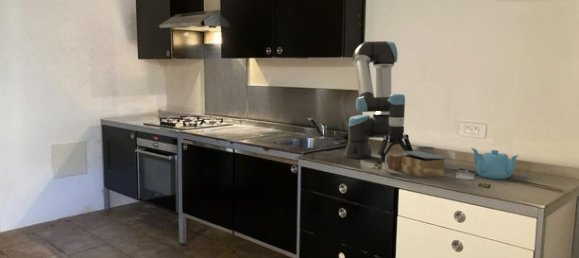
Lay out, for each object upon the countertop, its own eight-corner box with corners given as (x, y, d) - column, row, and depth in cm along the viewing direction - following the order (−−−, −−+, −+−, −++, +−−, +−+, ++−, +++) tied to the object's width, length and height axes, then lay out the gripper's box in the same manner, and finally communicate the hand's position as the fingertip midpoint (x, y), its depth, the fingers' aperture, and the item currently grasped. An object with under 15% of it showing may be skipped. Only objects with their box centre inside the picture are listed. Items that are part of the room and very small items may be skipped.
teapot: (477, 179, 222) (478, 153, 221) (469, 170, 240) (471, 146, 239) (517, 181, 219) (519, 154, 218) (506, 172, 237) (508, 147, 236)
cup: (421, 165, 254) (422, 146, 253) (436, 167, 249) (437, 147, 248) (414, 167, 248) (414, 148, 246) (429, 170, 242) (430, 150, 241)
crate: (401, 171, 239) (401, 155, 238) (420, 169, 244) (420, 153, 243) (424, 178, 224) (424, 161, 223) (443, 175, 230) (444, 159, 229)
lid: (401, 152, 237) (401, 150, 237) (420, 153, 243) (420, 151, 243) (424, 158, 223) (425, 156, 223) (445, 158, 228) (445, 157, 228)
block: (387, 168, 245) (388, 155, 244) (395, 167, 248) (396, 154, 247) (394, 170, 241) (394, 156, 240) (402, 169, 243) (402, 155, 242)
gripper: (380, 127, 232) (379, 171, 235) (421, 124, 244) (419, 166, 246) (371, 126, 239) (370, 168, 242) (410, 123, 250) (409, 164, 253)
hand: (395, 167), depth 244 cm, fingers open, 13 cm apart
